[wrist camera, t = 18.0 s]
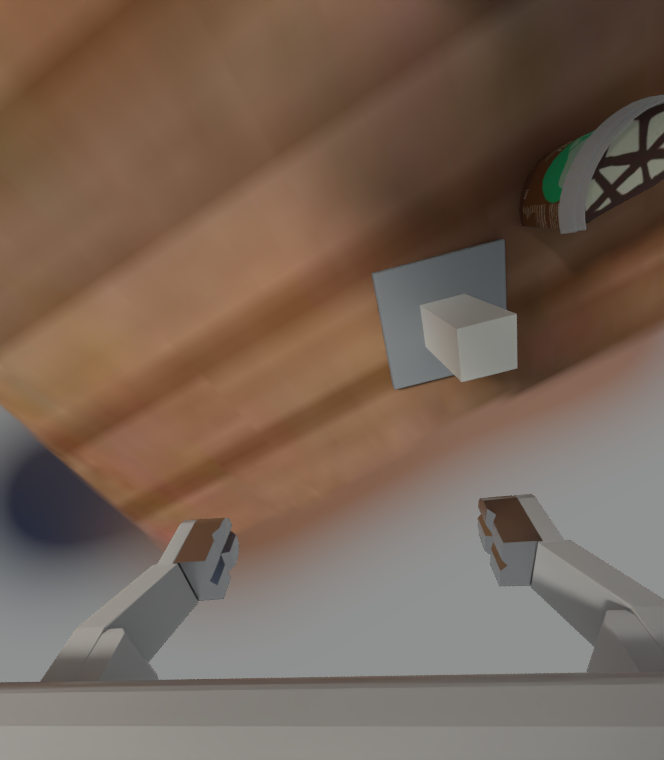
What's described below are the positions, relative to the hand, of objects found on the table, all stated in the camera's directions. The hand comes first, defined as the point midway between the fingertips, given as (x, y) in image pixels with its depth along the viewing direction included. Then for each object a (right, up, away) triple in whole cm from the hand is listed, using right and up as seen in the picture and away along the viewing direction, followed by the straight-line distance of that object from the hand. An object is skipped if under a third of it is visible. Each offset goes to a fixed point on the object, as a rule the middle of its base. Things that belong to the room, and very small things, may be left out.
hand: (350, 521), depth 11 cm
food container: (+22, +26, +22) cm, 40 cm away
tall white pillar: (+12, +11, +26) cm, 31 cm away
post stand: (+12, +12, +27) cm, 32 cm away
